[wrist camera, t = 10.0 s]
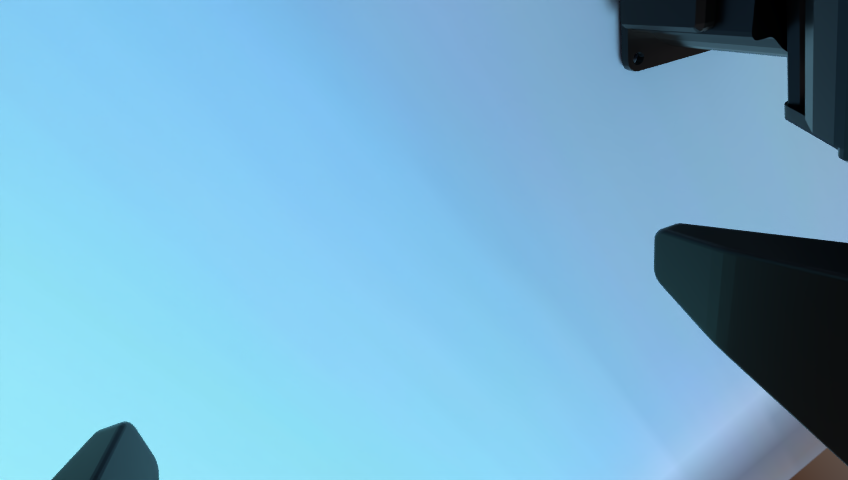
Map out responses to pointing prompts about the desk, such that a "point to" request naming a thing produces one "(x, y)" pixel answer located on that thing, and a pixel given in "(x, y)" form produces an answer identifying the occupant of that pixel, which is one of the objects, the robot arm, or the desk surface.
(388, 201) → the desk surface
